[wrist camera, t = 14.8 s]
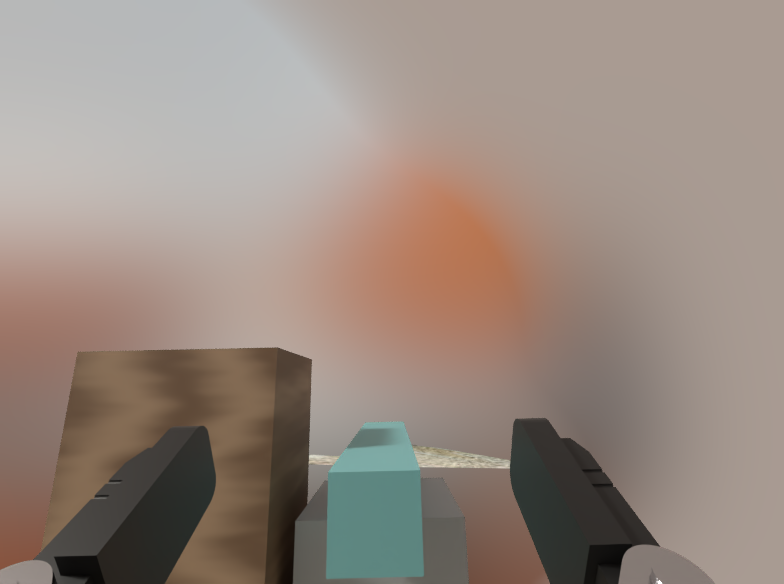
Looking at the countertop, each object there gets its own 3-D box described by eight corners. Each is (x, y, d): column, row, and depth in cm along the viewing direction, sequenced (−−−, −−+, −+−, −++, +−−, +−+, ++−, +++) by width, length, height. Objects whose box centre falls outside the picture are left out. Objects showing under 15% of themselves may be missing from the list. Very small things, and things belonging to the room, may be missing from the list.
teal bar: (404, 462, 39) (403, 421, 40) (424, 576, 15) (420, 470, 16) (365, 463, 39) (365, 422, 40) (326, 579, 15) (328, 472, 16)
